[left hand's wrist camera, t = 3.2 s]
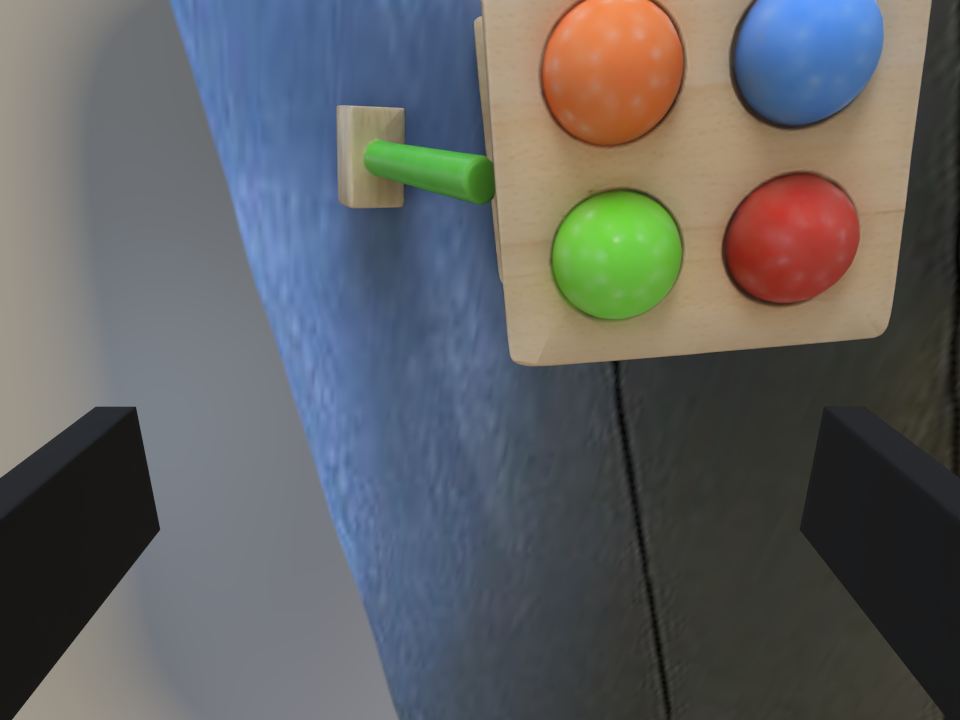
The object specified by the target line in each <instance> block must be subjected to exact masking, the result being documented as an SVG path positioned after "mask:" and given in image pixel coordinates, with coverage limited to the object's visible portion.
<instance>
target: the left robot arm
mask: <svg viewBox="0 0 960 720" xmlns="http://www.w3.org/2000/svg"><path fill="white" fill-rule="evenodd" d="M958 261H959V270H960V235H959V244H958ZM159 530H160V526H159V522H158V516H157V511H156V506H155V501H154V496H153V491H152V486H151V481H150V476H149V471H148V466H147V461H146V456H145V451H144V445H143V440H142V435H141V430H140V425H139V420H138V415H137V410H136V407H95V408H93V409H92V410H91V411H89V412H88V413H87V414H85V415H84V416H83V417H81V418H80V419H79V420H77V421H76V422H75V423H73V424H72V425H71V426H69V427H68V428H67V429H65V430H64V431H63V432H61V433H60V434H59V435H57V436H56V437H55V438H53V439H52V440H51V441H49V442H48V443H47V444H45V445H44V446H43V447H41V448H40V449H39V450H37V451H36V452H35V453H33V454H32V455H31V456H29V457H28V458H27V459H25V460H24V461H23V462H21V463H20V464H19V465H17V466H16V467H15V468H13V469H12V470H11V471H9V472H8V473H7V474H5V475H4V476H3V477H1V478H0V720H12V719H13V718H14V716H15V715H16V714H17V713H18V711H19V710H20V709H21V707H22V706H23V705H24V704H25V702H26V701H27V700H28V699H29V697H30V696H31V695H32V693H33V692H34V691H35V690H36V688H37V687H38V686H39V684H40V683H41V682H42V681H43V679H44V678H45V677H46V675H47V674H48V673H49V671H50V670H51V669H52V668H53V666H54V665H55V664H56V663H57V661H58V660H59V659H60V657H61V656H62V655H63V654H64V652H65V651H66V650H67V648H68V647H69V646H70V645H71V643H72V642H73V641H74V639H75V638H76V637H77V636H78V634H79V633H80V632H81V630H82V629H83V628H84V627H85V625H86V624H87V623H88V621H89V620H90V619H91V618H92V616H93V615H94V614H95V613H96V611H97V610H98V609H99V607H100V606H101V605H102V603H103V602H104V601H105V600H106V598H107V597H108V596H109V595H110V593H111V592H112V591H113V589H114V588H115V587H116V586H117V584H118V583H119V582H120V580H121V579H122V578H123V577H124V575H125V574H126V573H127V572H128V570H129V569H130V568H131V566H132V565H133V564H134V562H135V561H136V560H137V559H138V557H139V556H140V555H141V554H142V552H143V551H144V550H145V548H146V547H147V546H148V545H149V543H150V542H151V541H152V539H153V538H154V537H155V536H156V534H157V533H158V532H159ZM800 530H801V532H802V533H803V534H804V536H805V537H806V538H807V539H808V541H809V542H810V543H811V545H812V546H813V547H814V548H815V550H816V551H817V552H818V554H819V555H820V556H821V557H822V559H823V560H824V561H825V563H826V564H827V565H828V566H829V568H830V569H831V570H832V572H833V573H834V574H835V575H836V577H837V578H838V579H839V580H840V582H841V583H842V584H843V586H844V587H845V588H846V589H847V591H848V592H849V593H850V595H851V596H852V597H853V598H854V600H855V601H856V602H857V604H858V605H859V606H860V607H861V609H862V610H863V611H864V613H865V614H866V615H867V616H868V618H869V619H870V620H871V622H872V623H873V624H874V625H875V627H876V628H877V629H878V631H879V632H880V633H881V634H882V636H883V637H884V638H885V640H886V641H887V642H888V643H889V645H890V646H891V647H892V648H893V650H894V651H895V652H896V654H897V655H898V656H899V657H900V659H901V660H902V661H903V663H904V664H905V665H906V666H907V668H908V669H909V670H910V672H911V673H912V674H913V675H914V677H915V678H916V679H917V681H918V682H919V683H920V684H921V686H922V687H923V688H924V690H925V691H926V692H927V693H928V695H929V696H930V697H931V699H932V700H933V701H934V702H935V704H936V705H937V706H938V707H939V709H940V710H941V711H942V713H943V714H944V715H945V716H946V718H947V719H948V720H960V478H959V477H958V476H956V475H955V474H953V473H952V472H951V471H949V470H948V469H947V468H945V467H944V466H943V465H941V464H940V463H939V462H937V461H936V460H935V459H933V458H932V457H931V456H929V455H928V454H927V453H925V452H924V451H923V450H921V449H920V448H919V447H917V446H916V445H915V444H913V443H912V442H911V441H909V440H908V439H907V438H905V437H904V436H903V435H901V434H900V433H899V432H897V431H896V430H895V429H893V428H892V427H891V426H889V425H888V424H887V423H885V422H884V421H883V420H881V419H880V418H879V417H877V416H876V415H875V414H873V413H872V412H871V411H869V410H868V409H867V408H865V407H824V410H823V415H822V420H821V425H820V430H819V435H818V440H817V445H816V451H815V456H814V461H813V466H812V471H811V476H810V481H809V486H808V491H807V496H806V501H805V506H804V511H803V516H802V521H801V526H800Z"/></svg>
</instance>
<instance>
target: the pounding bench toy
mask: <svg viewBox="0 0 960 720" xmlns="http://www.w3.org/2000/svg"><path fill="white" fill-rule="evenodd" d="M931 2H932V0H481V11H482V16H480V17H478V18H476V20H475V21H474V36H475V48H476V58H477V69H478V79H479V88H480V98H481V108H482V118H483V128H484V138H485V148H486V156H483V155H476V154H469V153H460V152H453V151H446V150H439V149H432V148H425V147H418V146H412V145H405V115H406V113H405V110H404V108H393V107H369V106H348V105H338V106H337V164H338V200H339V202H340V203H341V204H343V205H345V206H347V207H349V208H390V207H402V206H403V204H404V184H407V185H410V186H413V187H417V188H420V189H424V190H427V191H430V192H434V193H438V194H442V195H445V196H449V197H453V198H457V199H460V200H464V201H468V202H472V203H476V204H485V203H488V202H490V201H491V206H492V216H493V225H494V235H495V245H496V253H497V262H498V271H499V277H500V281H501V282H502V283H503V289H504V300H505V312H506V323H507V335H508V343H509V351H510V357H511V358H512V360H513V361H514V362H515V363H517V364H521V365H524V366H549V365H564V364H577V363H591V362H603V361H616V360H628V359H641V358H653V357H665V356H677V355H689V354H699V353H708V352H719V351H731V350H743V349H756V348H767V347H779V346H790V345H801V344H812V343H823V342H835V341H845V340H856V339H866V338H875V337H877V336H879V335H881V334H882V333H883V332H884V331H885V329H886V328H887V326H888V323H889V319H890V314H891V309H892V303H893V297H894V290H895V282H896V275H897V267H898V259H899V251H900V243H901V235H902V227H903V220H904V213H905V205H906V197H907V188H908V179H909V170H910V161H911V153H912V145H913V138H914V131H915V123H916V116H917V108H918V101H919V94H920V86H921V78H922V70H923V63H924V57H925V51H926V42H927V33H928V25H929V17H930V9H931Z"/></svg>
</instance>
